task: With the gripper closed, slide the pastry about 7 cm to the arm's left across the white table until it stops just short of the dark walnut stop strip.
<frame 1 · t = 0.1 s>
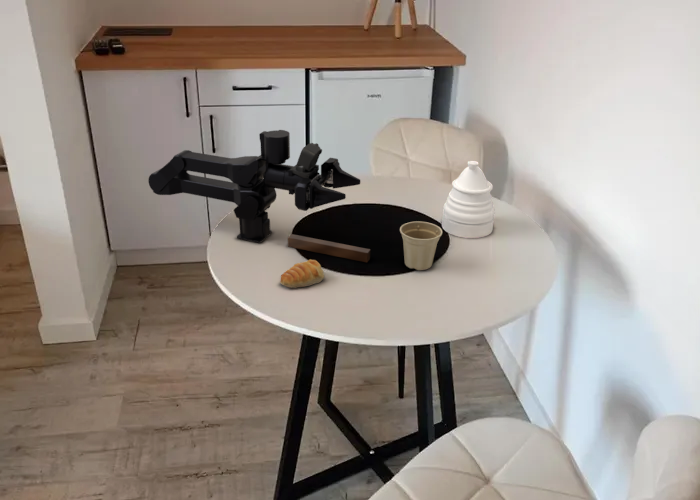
hand: (352, 189, 150), 17 cm above the table, tool horizontal, fingers open, 9 cm apart
pastry: (303, 281, 147), on the table
stop strip: (328, 252, 159), on the table
honey pot: (466, 227, 173), on the table
flower pot: (418, 264, 155), on the table
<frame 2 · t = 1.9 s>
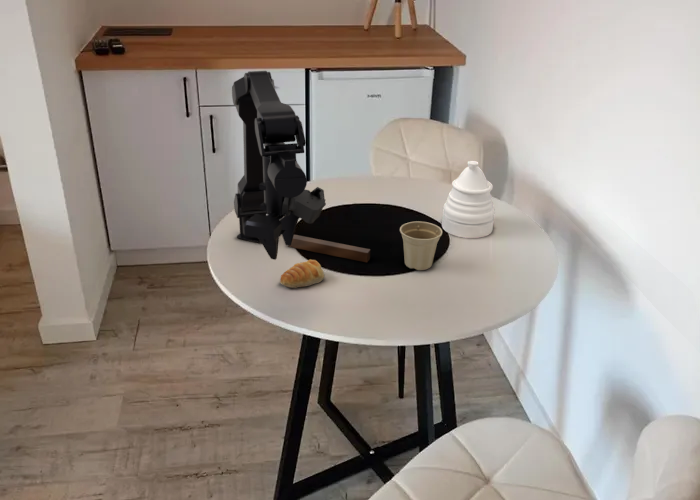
hand: (281, 251, 133), 12 cm above the table, tool pointing down, fingers open, 6 cm apart
nothing on the table moved.
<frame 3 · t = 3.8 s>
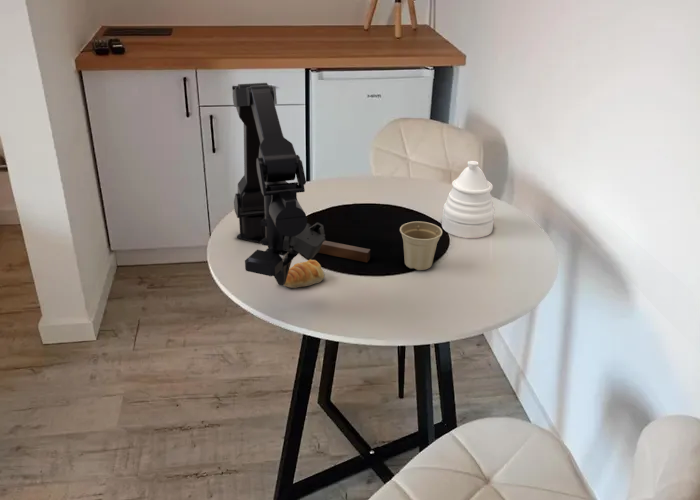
hand: (281, 284, 137), 5 cm above the table, tool pointing down, fingers closed
nothing on the table moved.
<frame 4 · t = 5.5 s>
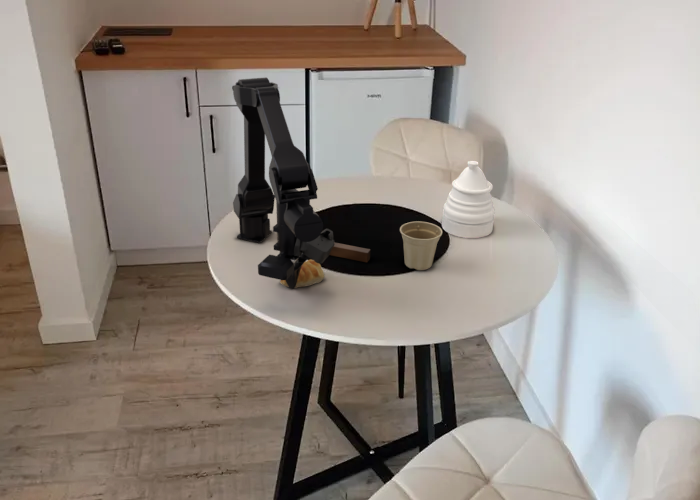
hand: (292, 287, 142), 1 cm above the table, tool pointing down, fingers closed
pastry: (303, 281, 148), on the table, touching gripper
everything else where it was.
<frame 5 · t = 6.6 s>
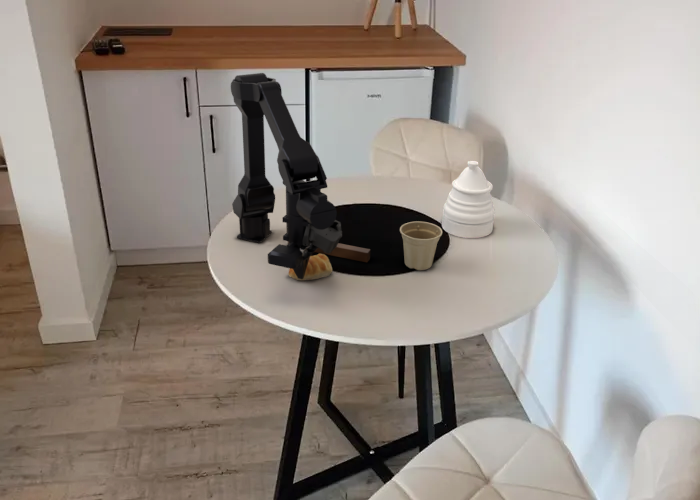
hand: (300, 278, 145), 1 cm above the table, tool pointing down, fingers closed
pastry: (312, 274, 150), on the table, touching gripper
everything else where it was.
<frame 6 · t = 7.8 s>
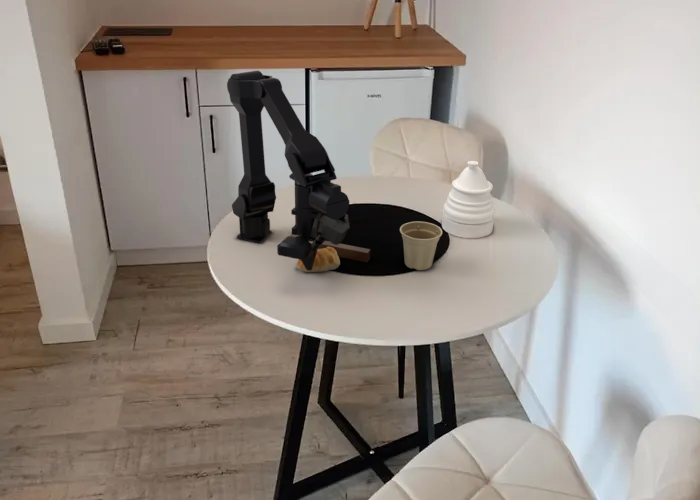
hand: (309, 269, 149), 1 cm above the table, tool pointing down, fingers closed
pastry: (320, 266, 153), on the table, touching gripper
everything else where it was.
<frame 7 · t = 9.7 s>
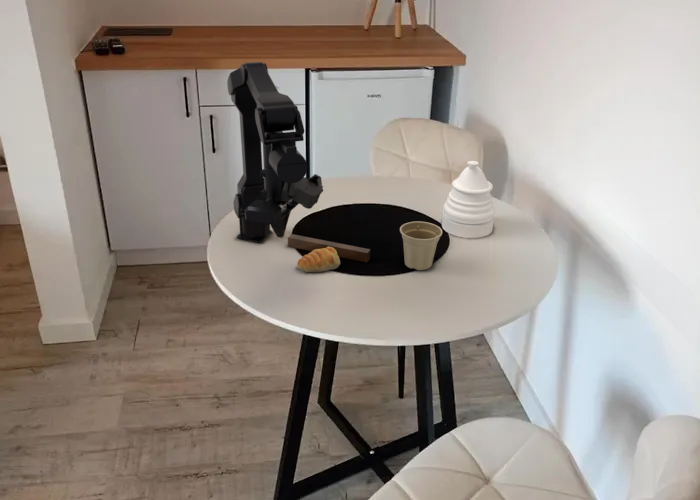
hand: (280, 236, 139), 12 cm above the table, tool pointing down, fingers closed
pastry: (320, 266, 153), on the table
everything else where it was.
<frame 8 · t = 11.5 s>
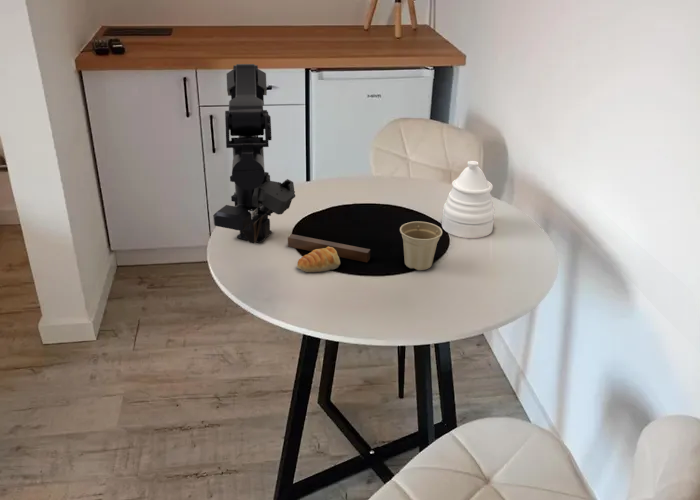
hand: (252, 242, 137), 12 cm above the table, tool pointing down, fingers closed
nothing on the table moved.
at the end: pastry inside the target area (0.9 cm from its centre), on the table; pastry moved 7.4 cm from its start; pastry tilted 0° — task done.
